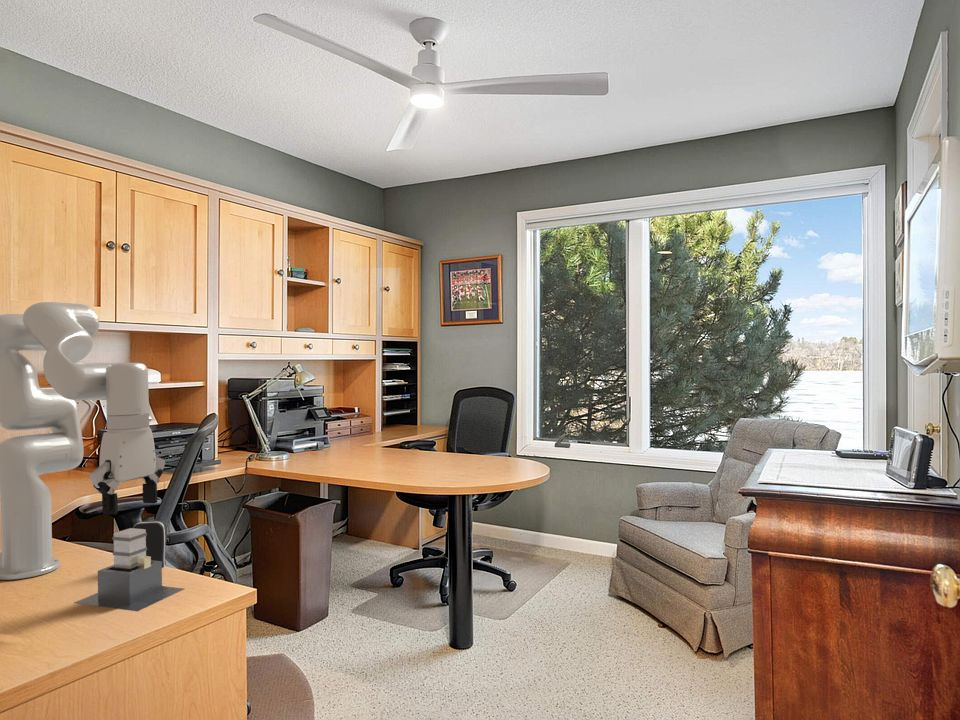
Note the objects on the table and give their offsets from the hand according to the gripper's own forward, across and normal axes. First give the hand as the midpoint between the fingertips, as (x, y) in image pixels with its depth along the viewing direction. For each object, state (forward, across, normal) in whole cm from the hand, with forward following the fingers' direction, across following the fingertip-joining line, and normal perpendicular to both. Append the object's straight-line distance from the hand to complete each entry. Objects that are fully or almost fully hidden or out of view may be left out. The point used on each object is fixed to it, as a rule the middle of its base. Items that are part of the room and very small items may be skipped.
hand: (130, 508), depth 126 cm
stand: (+19, 0, -1) cm, 19 cm away
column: (+18, 0, -1) cm, 18 cm away
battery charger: (+19, -16, -12) cm, 27 cm away
